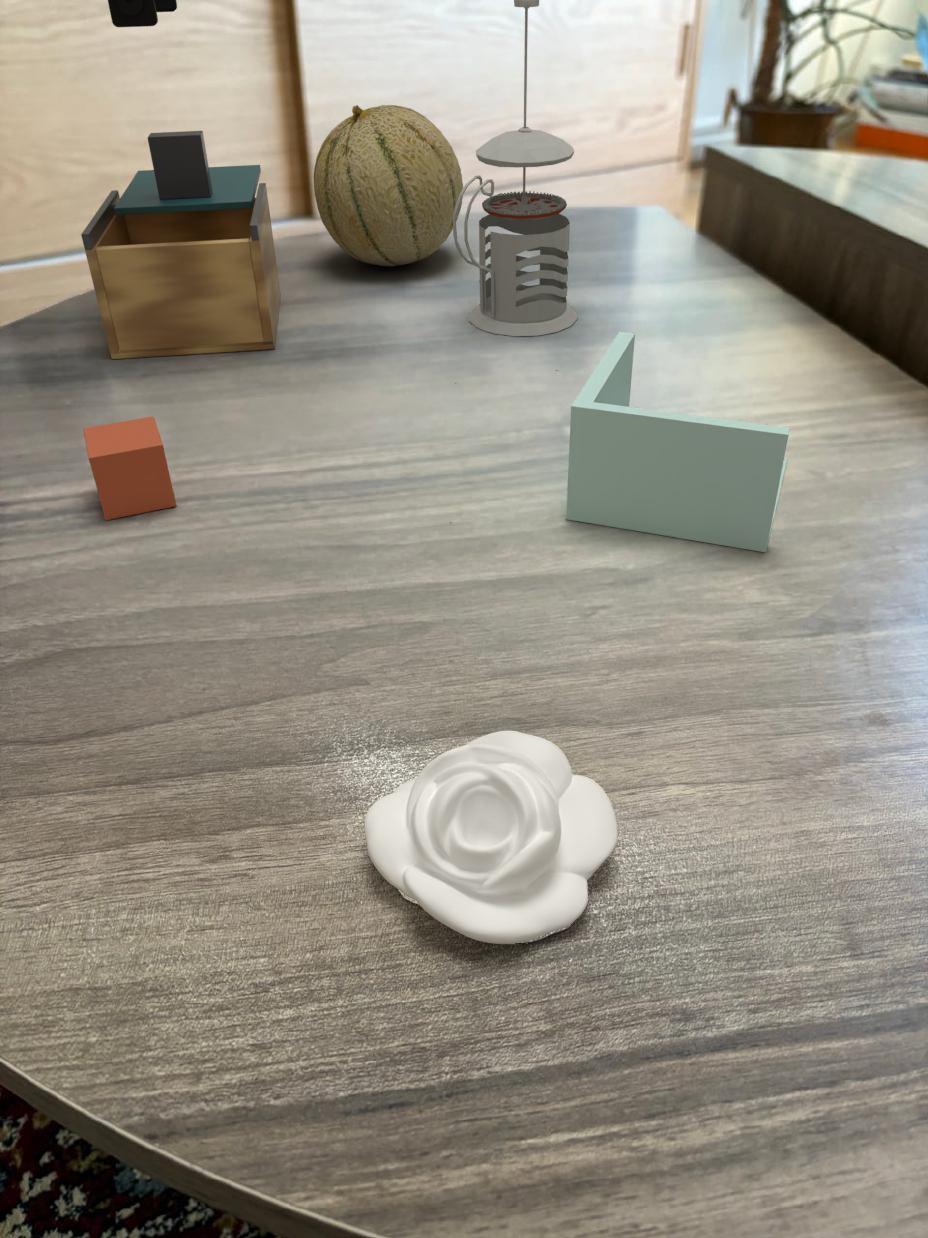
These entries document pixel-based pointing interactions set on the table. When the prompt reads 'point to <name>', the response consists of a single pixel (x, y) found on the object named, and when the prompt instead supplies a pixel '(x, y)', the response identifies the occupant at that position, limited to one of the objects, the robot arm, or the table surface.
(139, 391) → the table surface
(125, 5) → the robot arm
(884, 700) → the table surface
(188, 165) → the sliding door
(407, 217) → the cantaloupe
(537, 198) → the french press
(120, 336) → the wooden box
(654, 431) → the l-shaped corner panel
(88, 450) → the block
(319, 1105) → the table surface
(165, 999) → the table surface
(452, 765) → the rose
